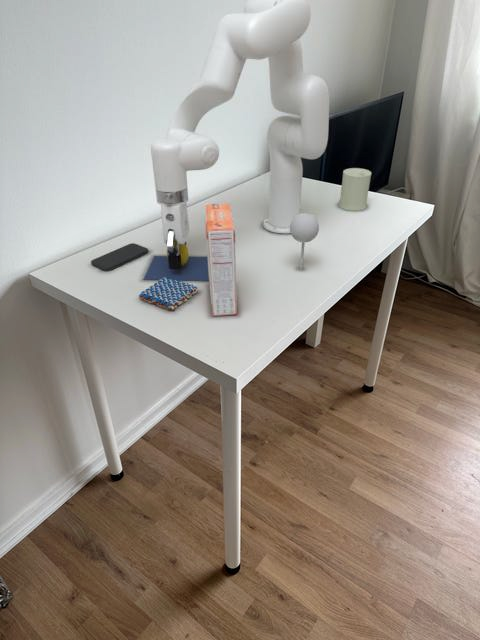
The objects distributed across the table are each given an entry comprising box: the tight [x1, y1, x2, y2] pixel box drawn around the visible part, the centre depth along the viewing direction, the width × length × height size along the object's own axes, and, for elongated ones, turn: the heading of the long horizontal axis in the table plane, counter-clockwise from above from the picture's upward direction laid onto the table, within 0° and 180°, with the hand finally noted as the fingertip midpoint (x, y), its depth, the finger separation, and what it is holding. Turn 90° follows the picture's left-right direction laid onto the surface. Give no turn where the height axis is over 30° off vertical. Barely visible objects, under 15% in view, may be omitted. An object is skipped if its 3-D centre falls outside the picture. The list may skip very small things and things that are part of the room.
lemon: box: [166, 240, 190, 266], centre depth 116 cm, size 6×6×8 cm
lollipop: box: [290, 212, 320, 270], centre depth 113 cm, size 7×7×15 cm
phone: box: [90, 243, 149, 272], centre depth 123 cm, size 7×1×15 cm
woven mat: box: [138, 276, 198, 311], centre depth 107 cm, size 10×11×2 cm
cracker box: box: [204, 203, 238, 317], centre depth 100 cm, size 14×6×21 cm, turn 5°
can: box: [338, 167, 372, 212], centre depth 151 cm, size 9×9×12 cm
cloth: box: [142, 255, 209, 282], centre depth 118 cm, size 18×13×1 cm
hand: (178, 260), depth 117 cm, fingers open, 7 cm apart
